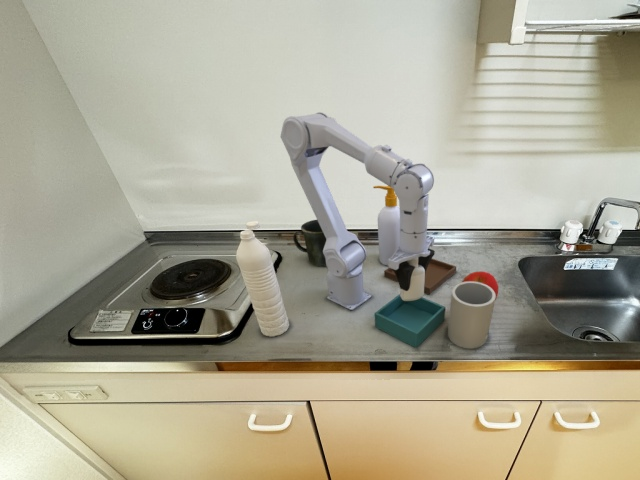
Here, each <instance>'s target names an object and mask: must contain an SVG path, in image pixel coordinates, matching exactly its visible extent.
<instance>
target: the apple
mask: <svg viewBox="0 0 640 480" xmlns="http://www.w3.org/2000/svg"><path fill="white" fill-rule="evenodd" d="M467 281H474V282H480V283H483V284H485V285H488V286H489V287H491V288H492V289H493V291H494V292H495V294H496V298H495V301H497V297H498V294H499V284H498V281H497V280H496V278H495V276H494V275H492V274H491V273H489V272H486V271H481V270H480V271H474V272H471V273H469V274H467V275H465V277H464V278H463V279H462V281H461V283H462V282H467Z"/></svg>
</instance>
